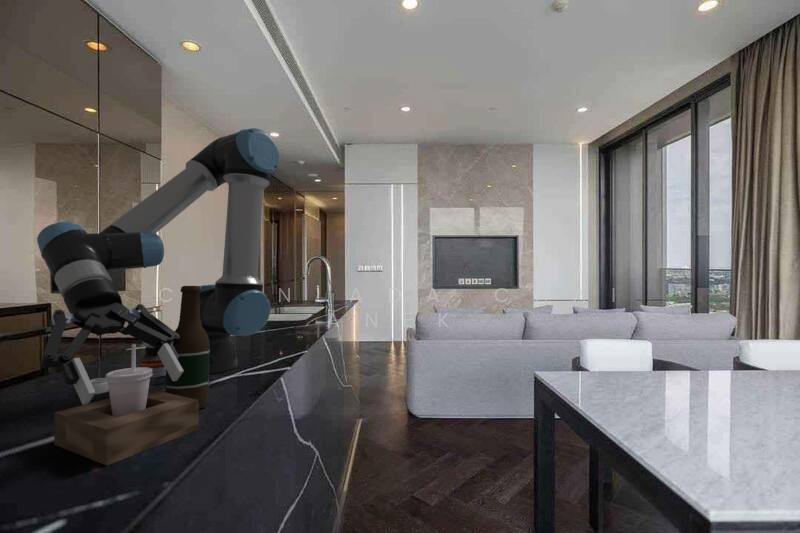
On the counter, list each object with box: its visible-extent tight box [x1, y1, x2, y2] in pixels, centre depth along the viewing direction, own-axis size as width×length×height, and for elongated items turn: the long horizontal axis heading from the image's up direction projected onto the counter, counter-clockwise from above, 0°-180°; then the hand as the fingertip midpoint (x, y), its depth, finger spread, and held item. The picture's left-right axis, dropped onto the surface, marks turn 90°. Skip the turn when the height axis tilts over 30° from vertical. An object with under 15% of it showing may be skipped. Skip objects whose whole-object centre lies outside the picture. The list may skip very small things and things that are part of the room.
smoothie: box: [105, 343, 153, 417], centre depth 64 cm, size 6×6×14 cm
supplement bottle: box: [139, 344, 167, 393], centre depth 84 cm, size 6×6×11 cm
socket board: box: [53, 389, 200, 466], centre depth 64 cm, size 14×15×5 cm
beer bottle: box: [166, 285, 210, 410], centre depth 78 cm, size 8×8×24 cm
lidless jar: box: [90, 377, 109, 396], centre depth 88 cm, size 5×3×5 cm
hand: (138, 386), depth 63 cm, fingers open, 13 cm apart
